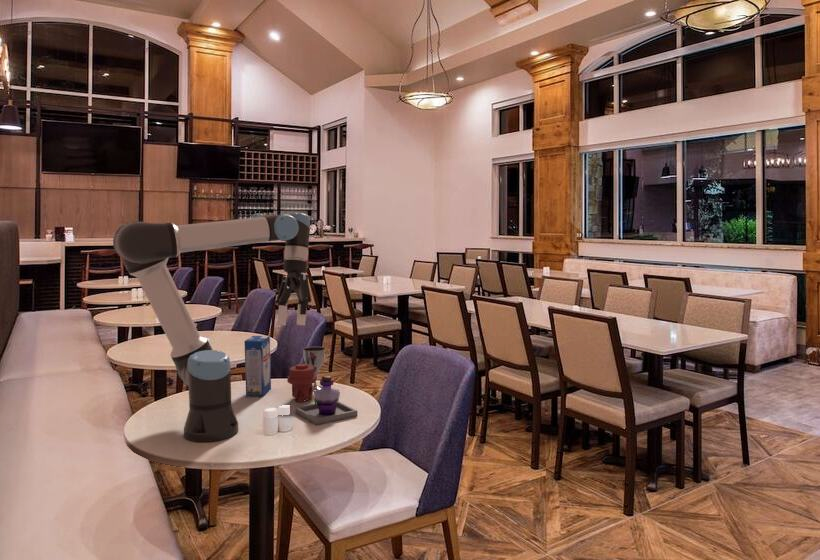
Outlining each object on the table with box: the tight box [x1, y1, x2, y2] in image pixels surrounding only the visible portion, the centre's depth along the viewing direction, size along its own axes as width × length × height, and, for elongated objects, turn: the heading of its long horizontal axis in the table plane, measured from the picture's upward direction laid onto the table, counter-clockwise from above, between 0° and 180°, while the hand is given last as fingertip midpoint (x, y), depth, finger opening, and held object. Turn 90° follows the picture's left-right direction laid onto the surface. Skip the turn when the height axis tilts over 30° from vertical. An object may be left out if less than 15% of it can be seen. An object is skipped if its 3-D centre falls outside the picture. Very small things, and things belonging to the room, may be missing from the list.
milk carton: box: [244, 335, 272, 398], centre depth 213 cm, size 10×6×20 cm, turn 178°
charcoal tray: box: [294, 400, 358, 426], centre depth 190 cm, size 15×15×2 cm
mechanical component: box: [286, 363, 318, 403], centre depth 205 cm, size 12×10×10 cm
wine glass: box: [303, 345, 326, 390], centre depth 219 cm, size 8×8×15 cm
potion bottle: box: [313, 375, 341, 416], centre depth 189 cm, size 9×9×12 cm
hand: (290, 325), depth 192 cm, fingers open, 13 cm apart
